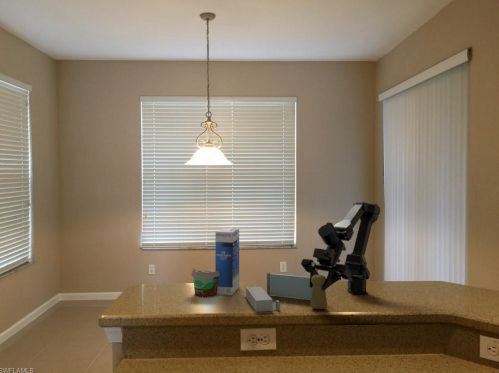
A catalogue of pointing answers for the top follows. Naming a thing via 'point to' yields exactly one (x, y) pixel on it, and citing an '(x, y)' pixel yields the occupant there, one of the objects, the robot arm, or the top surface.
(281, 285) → the cover
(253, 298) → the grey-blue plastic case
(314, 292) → the beige waisted cylinder
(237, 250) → the string lights box
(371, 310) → the top surface
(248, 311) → the top surface
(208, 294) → the food container
